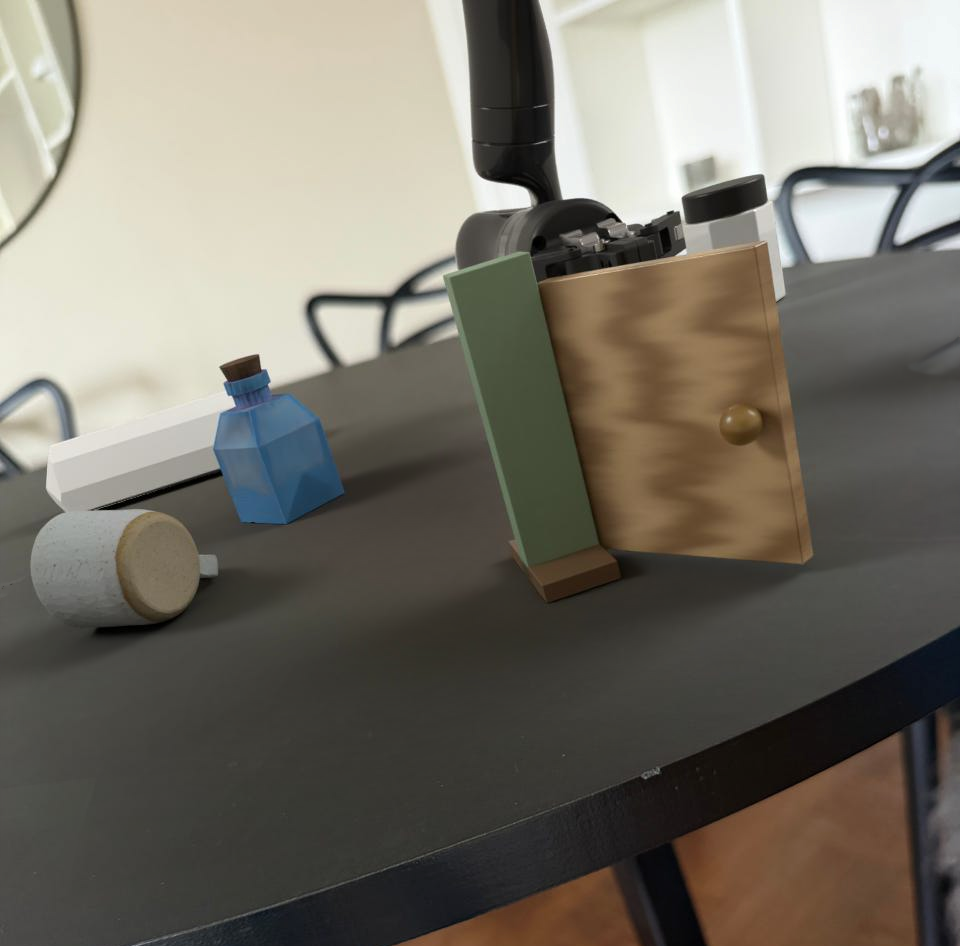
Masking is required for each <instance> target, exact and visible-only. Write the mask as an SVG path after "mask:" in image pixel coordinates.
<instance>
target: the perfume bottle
mask: <svg viewBox="0 0 960 946" xmlns="http://www.w3.org/2000/svg"><path fill="white" fill-rule="evenodd" d="M218 368H219V370H220V371H221V373H222V374H223V376H224V378H225V379H226V380H225V381H223V387H224V391H226V392H227V395H228V396H232V397H233V400H234V403H235V405H236V407H234V408H231V409H229V410H227V411H224V412H222V413H220V416H219V422H218V427H217V432H216V437H215V442H214V447H213V451H214V453H215V456H216V458H217V461H218V463H219V466H220V469H221V474H222V477H223V479H224V481H225V484H226V486H227V489H228V492H229V495H230V497H231V499H232V501H233V504H234V507H235V509H236V513H237V514H238V516H239V517H238V518H239V520H240V522H241V523H251V522H255V523H254V524H273V525H274V524H276V525H277V524H278V525H287V524H289V523H291V522H292V521H295V520H296V519H299V518H300V517H302V516H304V515H306V514H309V512H312V511H314V510H315V509H317V508H319V507H321V506H323V505H325V504H326V503H328V502H330V501H332V500H334V499H336V498H338V497H339V496H342V495H343V494H345V493H346V492H345V489H344V486H343V484H342V481H341V478H340V475H339V472H338V470H337V466H336V463H335V460H334V458H333V455H332V450H331V449H330V446H329V442H328V439H327V437H326V436H327V435H326V434H325V430H324V429H323V425H322V421H321V418H319V417H318V415H316V414H315V413H313V411H311V410H310V409H309V408H308V407H306V406H305V405H304V404H303V403H302V402H301V401H300V400H298V399H297V398H296V397H295V396H294V395H292V393H290V392H286V393H278V394H272V392H271V389H270V386H269V384H270V383H271V378H270V375H269V373H268V369H266V368H263V369H262V365H261V357H260V353H255V354H251V355H247V356H243V357H239V358H236V359H233V360H231V361H227V362H226V363H223V364H221V365H219V367H218Z"/></svg>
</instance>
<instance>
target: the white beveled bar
mask: <svg viewBox="0 0 960 946" xmlns="http://www.w3.org/2000/svg"><path fill="white" fill-rule="evenodd" d="M234 407H236V405H235V403H234V400H233V397H232V396H228V395H227V392H226V390H223V391H219V392H216V393H213V394H210V395H206V396H203V397H201V398H198V399H194V400H191V401H188V402H185V403H182V404H178V405H175V406H171V407H168V408H165V409H161V410H158V411H155V412H152V413H150V414H146V415H143V416H140V417H136V418H133V419H130V420H127V421H124V422H120V423H117V424H114V425H111V426H107V427H105V428H102V429H98V430H95V431H91V432H89V433H86V434H85V433H84V434H82V435H79V436H77V437H73V438H69V439H66V440H63V441H60V442H57V443H54V444H50V447H49V451H48V455H47V464H46V481H45V490H46V492H47V494H48V495H49V496H50V498H51V499H53V501H54V502H55V504H56V505H57V506H59V508H60V509H62V510H63V512H64V513H65V512H69V511H91V510H94V509H98V508H101V507H104V506H108V505H111V504H114V503H118V502H121V501H124V500H127V499H130V498H134V497H137V496H140V495H143V494H147V493H150V492H153V491H156V490H160V489H163V488H167V487H170V486H173V487H175V486H174V485H177V484H180V483H183V484H185V483H184V482H186V483H188V482H187V481H189V482H191V481H190V480H192V481H194V480H193V479H195V480H198V479H197V478H199V479H201V478H200V477H202V478H205V477H208V476H210V474H211V475H214V474H217V473H220V471H221V469H220V466H219V463H218V461H217V458H216V456H215V453H214V451H213V447H214V442H215V437H216V432H217V427H218V422H219V416H220V413H222V412H224V411H227V410H229V409H231V408H234ZM221 472H222V471H221ZM207 475H208V476H207ZM204 476H205V477H204ZM180 485H181V484H180ZM177 486H178V485H177ZM170 488H171V487H170ZM167 489H168V488H167Z"/></svg>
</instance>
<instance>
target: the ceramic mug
mask: <svg viewBox="0 0 960 946" xmlns="http://www.w3.org/2000/svg"><path fill="white" fill-rule="evenodd" d="M43 525H44V526H43V527H41V528H40V530H39V532H38V534H37V536H36V537H35V540H34V542H33V545H32V549H31V556H30V563H29V565H30V576H31V581H32V584H33V588H34V590H35V593H36V595H37V596H36V597H38V600H40V602H41V604H42V605H43V607H44V608H45V610H46V611H47V612H48V613H49V614H50V615H51V616H53V617H54V618H55V620H58V621H59V622H60V623H63V624H64V625H66V626H70V627H74V628H79V629H90V628H110V627H111V628H112V627H114V628H115V627H125V626H145V625H147V626H148V625H156V624H159V623H163V622H167V621H169V620H172V619H174V618H175V617H177V616H179V615H180V614H182V613H183V612H184V611H185V610H186V609H187V608H188V607H189V605H190V604H191V603H192V601H193V599H194V598H195V595H196V593H197V591H198V588H199V583H200V579H207V578H209V579H210V578H211V579H214V578H217V577H218V575H219V563H218V558H217V555H215V554H199V551H198V549H197V545H196V543H195V541H194V538H193V537H192V535H191V533H190V532H189V530H188V529H187V527H185V526H184V524H183V523H182V522H180V520H179V519H176V517H173V516H171V515H169V514H167V513H164V512H160V511H155V510H149V509H144V508H143V509H141V508H133V509H131V508H130V509H110V510H109V509H108V510H107V509H101V510H94V511H69V512H65V511H64V512H62V513H59V514H58V515H55V516H54V517H53V518H51V519H50V520H49V521H47V522H46V524H43Z"/></svg>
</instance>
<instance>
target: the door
mask: <svg viewBox="0 0 960 946" xmlns="http://www.w3.org/2000/svg"><path fill="white" fill-rule="evenodd" d="M537 286H538V290H539V294H540V298H541V302H542V307H543V311H544V315H545V319H546V323H547V327H548V332H549V336H550V340H551V344H552V348H553V353H554V357H555V361H556V365H557V369H558V374H559V378H560V382H561V386H562V390H563V394H564V399H565V403H566V407H567V411H568V415H569V420H570V424H571V428H572V432H573V436H574V440H575V445H576V449H577V453H578V457H579V461H580V466H581V470H582V474H583V478H584V482H585V486H586V491H587V495H588V499H589V503H590V507H591V512H592V516H593V520H594V524H595V528H596V533H597V537H598V541H599V544H600V545H601V546H602V547H603V548H604V549H605V550H607V551H608V550H609V551H623V552H633V553H634V552H635V553H648V554H661V555H672V556H674V555H675V556H686V557H700V558H711V559H724V560H725V559H726V560H738V561H750V562H765V563H777V564H778V563H779V564H790V565H791V564H792V565H804V564H805V563H807V562H808V561H809V560H810V559H812V558H813V557H814V551H813V544H812V538H811V529H810V524H809V517H808V511H807V505H806V503H807V502H806V497H805V496H806V495H805V489H804V484H803V483H804V482H803V476H802V470H801V463H800V454H799V448H798V441H797V435H796V427H795V422H794V420H795V419H794V414H793V406H792V401H791V394H790V388H789V387H790V386H789V380H788V373H787V367H786V360H785V351H784V345H783V340H782V339H783V338H782V333H781V326H780V319H779V311H778V306H777V302H776V298H775V291H774V284H773V277H772V270H771V263H770V257H769V250H768V243H767V241H760V242H754V243H748V244H742V245H737V246H731V247H725V248H720V249H714V250H708V251H702V252H697V253H691V254H687V253H686V254H680V255H676V256H674V257H668V258H662V259H657V260H651V261H645V262H640V263H634V264H628V265H622V266H617V267H611V268H605V269H600V270H594V271H588V272H582V273H577V274H571V275H565V276H560V277H554V278H548V279H546V280H543V281H541V282H539V283H537Z"/></svg>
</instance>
